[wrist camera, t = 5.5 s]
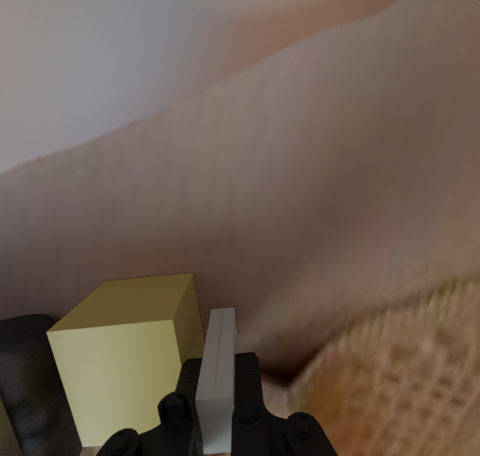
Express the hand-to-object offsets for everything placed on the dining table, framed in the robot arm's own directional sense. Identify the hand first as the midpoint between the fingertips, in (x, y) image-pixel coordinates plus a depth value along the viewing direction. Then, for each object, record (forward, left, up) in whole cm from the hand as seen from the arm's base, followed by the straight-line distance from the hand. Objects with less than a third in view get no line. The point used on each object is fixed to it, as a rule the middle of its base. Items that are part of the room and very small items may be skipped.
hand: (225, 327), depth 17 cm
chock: (+5, 0, -2) cm, 5 cm away
